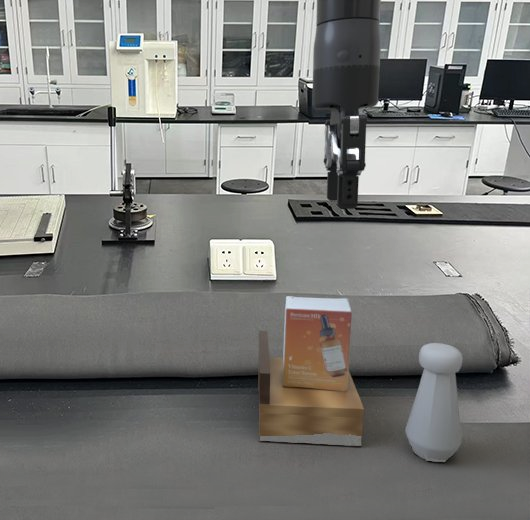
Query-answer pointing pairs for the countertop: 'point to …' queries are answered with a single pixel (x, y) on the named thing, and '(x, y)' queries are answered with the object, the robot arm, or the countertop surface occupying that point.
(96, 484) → the countertop surface
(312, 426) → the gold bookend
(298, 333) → the small box
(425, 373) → the salt shaker
